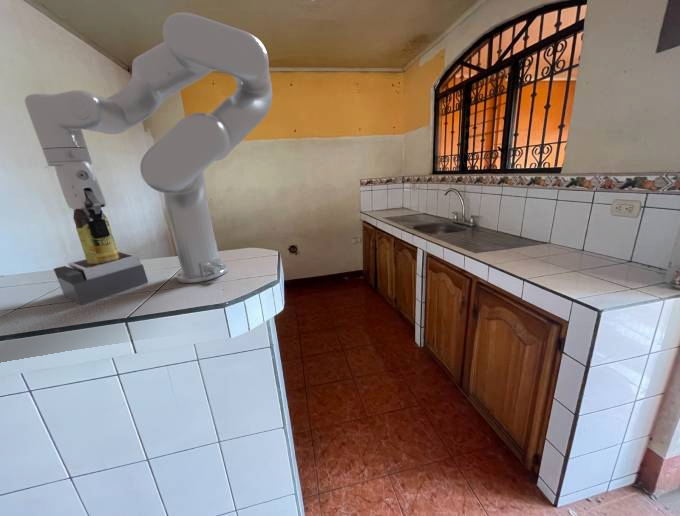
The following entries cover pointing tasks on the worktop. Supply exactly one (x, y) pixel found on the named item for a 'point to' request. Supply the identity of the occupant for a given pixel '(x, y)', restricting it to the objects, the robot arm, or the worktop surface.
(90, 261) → the sauce bottle
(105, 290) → the grey stepped tray box
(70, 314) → the worktop surface
